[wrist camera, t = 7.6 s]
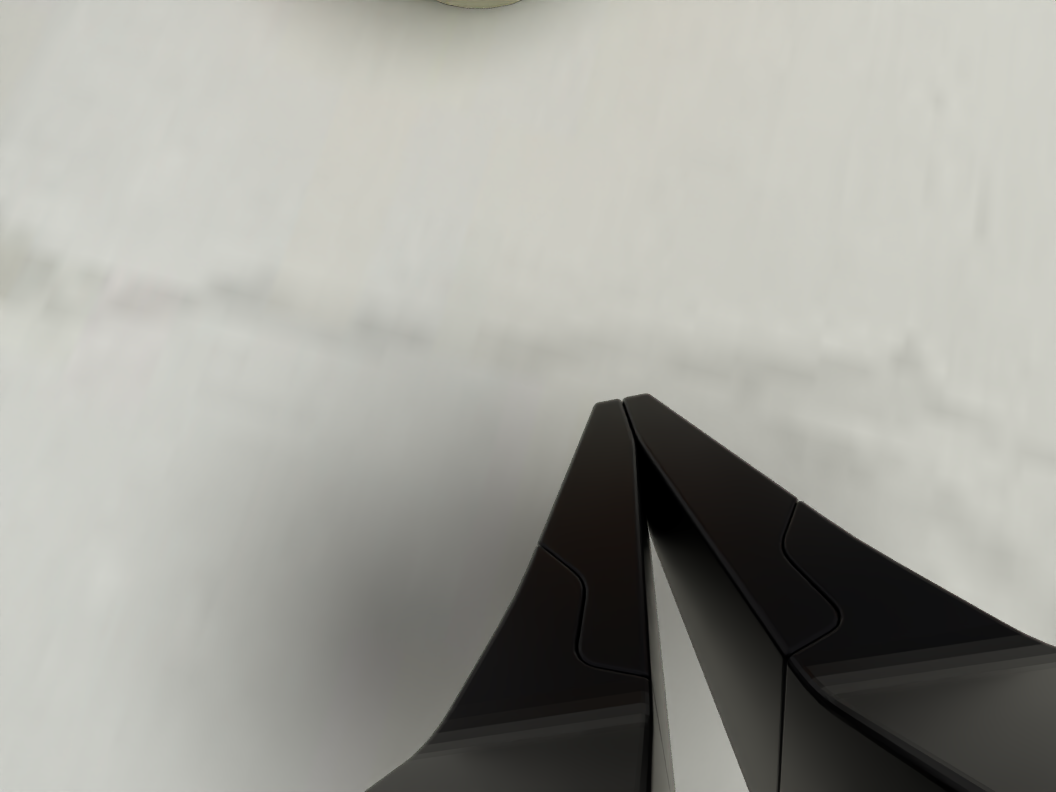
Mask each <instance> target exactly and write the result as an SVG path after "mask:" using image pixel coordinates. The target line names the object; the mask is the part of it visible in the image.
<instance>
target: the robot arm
mask: <svg viewBox="0 0 1056 792" xmlns="http://www.w3.org/2000/svg"><path fill="white" fill-rule="evenodd" d="M648 528H649V532H650V535H651V538H652V541H653V544H654V547H655V549H656V552H657V555H658V557H659V560H660V562H661V565H662V567H663V570H664V573H665V575H666V578H667V580H668V583H669V586H670V588H671V591H672V593H673V596H674V598H675V601H676V604H677V606H678V609H679V611H680V614H681V617H682V619H683V622H684V624H685V627H686V629H687V632H688V635H689V637H690V640H691V642H692V645H693V648H694V650H695V653H696V655H697V658H698V660H699V663H700V666H701V668H702V671H703V673H704V676H705V679H706V681H707V684H708V686H709V689H710V691H711V694H712V697H713V699H714V702H715V704H716V707H717V710H718V712H719V715H720V717H721V720H722V722H723V725H724V728H725V730H726V733H727V735H728V738H729V741H730V743H731V746H732V748H733V751H734V753H735V756H736V759H737V761H738V764H739V766H740V769H741V772H742V774H743V777H744V779H745V782H746V784H747V787H748V790H749V792H1056V647H1055V646H1052V645H1050V644H1047V643H1045V642H1043V641H1040V640H1038V639H1036V638H1034V637H1031V636H1029V635H1027V634H1025V633H1023V632H1021V631H1019V630H1017V629H1015V628H1013V627H1012V626H1010V625H1008V624H1006V623H1004V622H1002V621H1000V620H999V619H997V618H995V617H993V616H992V615H990V614H988V613H986V612H984V611H983V610H981V609H979V608H977V607H976V606H974V605H972V604H970V603H969V602H967V601H965V600H963V599H961V598H960V597H958V596H956V595H954V594H953V593H951V592H949V591H947V590H946V589H944V588H942V587H940V586H938V585H937V584H935V583H933V582H931V581H930V580H928V579H926V578H924V577H923V576H921V575H919V574H917V573H915V572H914V571H912V570H910V569H908V568H907V567H905V566H903V565H901V564H900V563H898V562H896V561H894V560H893V559H891V558H889V557H888V556H886V555H884V554H883V553H881V552H879V551H878V550H876V549H874V548H873V547H871V546H869V545H868V544H866V543H864V542H862V541H861V540H859V539H857V538H856V537H854V536H853V535H851V534H850V533H848V532H847V531H845V530H844V529H842V528H841V527H839V526H838V525H836V524H835V523H833V522H832V521H830V520H829V519H827V518H826V517H824V516H823V515H821V514H820V513H818V512H817V511H815V510H814V509H813V508H811V507H810V506H808V505H807V504H806V503H804V502H803V501H799V502H798V499H797V497H795V496H794V495H792V494H791V493H789V492H788V491H787V490H785V489H784V488H782V487H781V486H780V485H778V484H777V483H775V482H774V481H772V480H771V479H770V478H768V477H767V476H765V475H764V474H762V473H761V472H760V471H758V470H757V469H755V468H754V467H752V466H751V465H750V464H748V463H747V462H745V461H744V460H743V459H741V458H740V457H738V456H737V455H735V454H734V453H733V452H731V451H730V450H728V449H727V448H725V447H724V446H723V445H721V444H720V443H718V442H717V441H716V440H714V439H713V438H711V437H710V436H708V435H707V434H706V433H704V432H703V431H701V430H700V429H698V428H697V427H696V426H694V425H693V424H691V423H690V422H688V421H687V420H686V419H684V418H683V417H681V416H680V415H679V414H677V413H676V412H674V411H673V410H671V409H670V408H669V407H667V406H666V405H664V404H663V403H661V402H660V401H659V400H657V399H656V398H654V397H653V396H651V395H650V394H640V395H635V396H630V397H626V398H624V399H623V401H621V400H619V399H614V400H609V401H604V402H599V403H596V404H595V405H594V407H593V409H592V412H591V414H590V417H589V419H588V422H587V424H586V427H585V429H584V431H583V434H582V436H581V439H580V441H579V444H578V446H577V449H576V451H575V453H574V456H573V458H572V461H571V463H570V466H569V468H568V470H567V473H566V475H565V478H564V480H563V483H562V485H561V488H560V490H559V492H558V495H557V497H556V500H555V502H554V505H553V507H552V510H551V512H550V514H549V517H548V519H547V522H546V524H545V527H544V529H543V532H542V534H541V536H540V539H539V541H538V546H537V547H536V548H535V550H534V553H533V555H532V558H531V560H530V563H529V565H528V568H527V570H526V572H525V574H524V576H523V579H522V581H521V583H520V585H519V587H518V589H517V592H516V594H515V596H514V598H513V600H512V602H511V603H510V605H509V607H508V609H507V611H506V613H505V614H504V616H503V618H502V620H501V622H500V624H499V625H498V627H497V629H496V631H495V632H494V634H493V636H492V638H491V639H490V641H489V643H488V644H487V646H486V648H485V650H484V651H483V653H482V655H481V656H480V658H479V660H478V662H477V663H476V665H475V667H474V668H473V670H472V672H471V674H470V675H469V677H468V679H467V680H466V682H465V684H464V686H463V687H462V689H461V691H460V692H459V694H458V696H457V698H456V699H455V701H454V703H453V705H452V706H451V708H450V710H449V711H448V713H447V714H446V716H445V718H444V719H443V721H442V722H441V724H440V725H439V726H438V728H437V729H436V731H435V732H434V733H433V735H432V736H431V737H430V738H429V739H428V740H427V742H426V743H425V744H424V745H423V746H422V747H421V748H420V749H419V750H418V751H417V752H416V753H415V754H414V755H413V756H412V757H411V758H410V759H408V760H407V761H406V762H404V763H403V764H402V765H400V766H399V767H398V768H396V769H395V770H394V771H392V772H391V773H389V774H388V775H387V776H385V777H384V778H383V779H381V780H380V781H378V782H377V783H376V784H374V785H373V786H372V787H370V788H369V789H368V790H366V791H365V792H675V783H674V773H673V763H672V753H671V744H670V734H669V724H668V714H667V704H666V694H665V684H664V674H663V664H662V655H661V645H660V635H659V625H658V615H657V605H656V595H655V585H654V575H653V565H652V556H651V547H650V539H649V532H648Z"/></svg>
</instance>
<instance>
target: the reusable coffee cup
mask: <svg viewBox="0 0 1056 792" xmlns="http://www.w3.org/2000/svg"><path fill="white" fill-rule="evenodd" d="M437 1H439V2H442V3H445V4H448V5H453V6H459V7H464V8H493V7H498V6H504V5H509V4H513V3H515V2H518V1H520V0H437Z"/></svg>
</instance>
